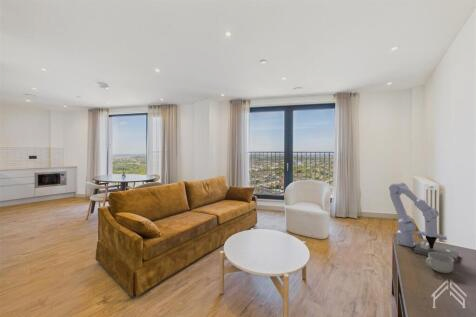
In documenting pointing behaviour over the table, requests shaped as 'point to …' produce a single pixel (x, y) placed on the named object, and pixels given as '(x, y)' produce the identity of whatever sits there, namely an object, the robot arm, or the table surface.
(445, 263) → the teacup
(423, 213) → the robot arm
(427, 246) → the fader
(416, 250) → the console
